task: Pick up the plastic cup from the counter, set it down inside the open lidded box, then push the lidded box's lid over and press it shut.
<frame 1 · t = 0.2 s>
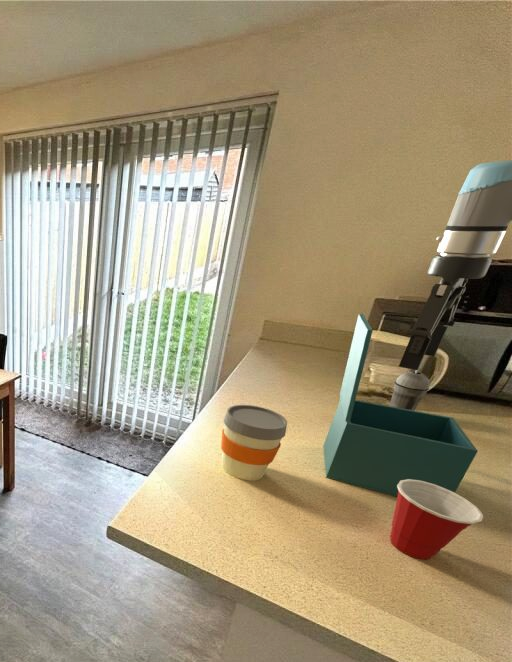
hand: (417, 361, 82), 30 cm above the countertop, tool pointing down, fingers open, 13 cm apart
lidded box: (376, 474, 95), on the countertop
reusable coffee cup: (241, 470, 97), on the countertop
lid: (354, 366, 90), point 26 cm above the countertop, hinge at 95.0°
beverage cup: (396, 420, 119), on the countertop
plastic cup: (411, 549, 74), on the countertop
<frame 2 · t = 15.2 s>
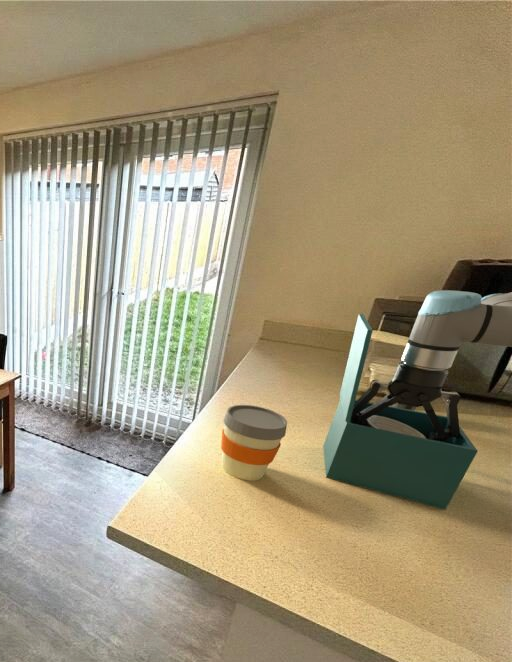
hand: (387, 452, 92), 6 cm above the countertop, tool pointing down, fingers open, 11 cm apart
plastic cup: (371, 469, 95), point 1 cm above the countertop, touching gripper
everything else where it was.
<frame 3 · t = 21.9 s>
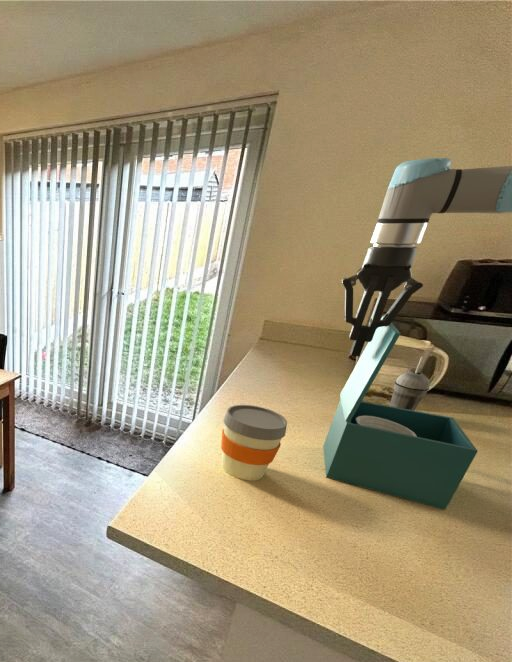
hand: (354, 354, 89), 29 cm above the countertop, tool pointing down, fingers closed
lid: (366, 368, 89), point 26 cm above the countertop, hinge at 83.4°, touching gripper, hand
plastic cup: (367, 469, 95), point 1 cm above the countertop, touching lidded box
everything else where it was.
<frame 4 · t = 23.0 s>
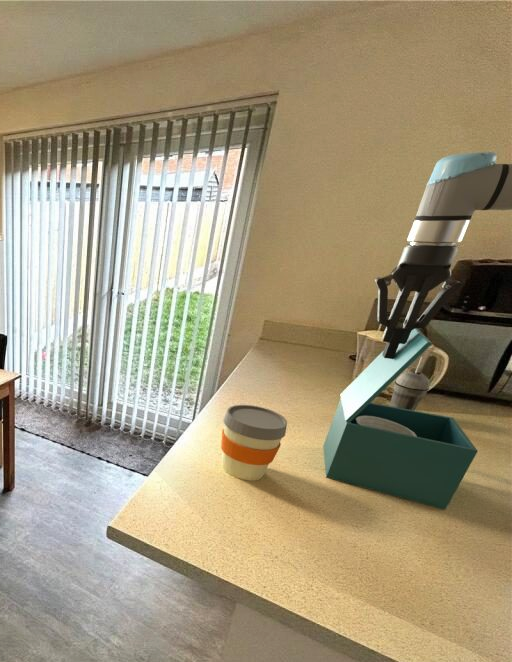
hand: (387, 356, 86), 29 cm above the countertop, tool pointing down, fingers closed
lid: (379, 372, 88), point 25 cm above the countertop, hinge at 69.6°, touching gripper
everything else where it was.
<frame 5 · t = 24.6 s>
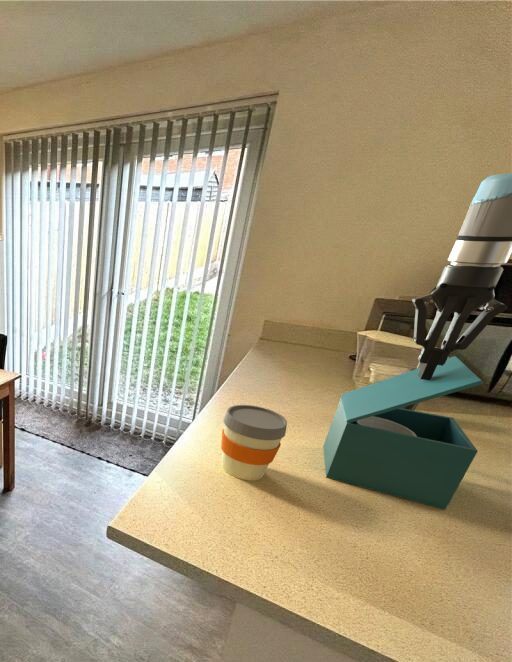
hand: (423, 377, 84), 25 cm above the countertop, tool pointing down, fingers closed
lid: (401, 389, 87), point 22 cm above the countertop, hinge at 39.7°
everything else where it was.
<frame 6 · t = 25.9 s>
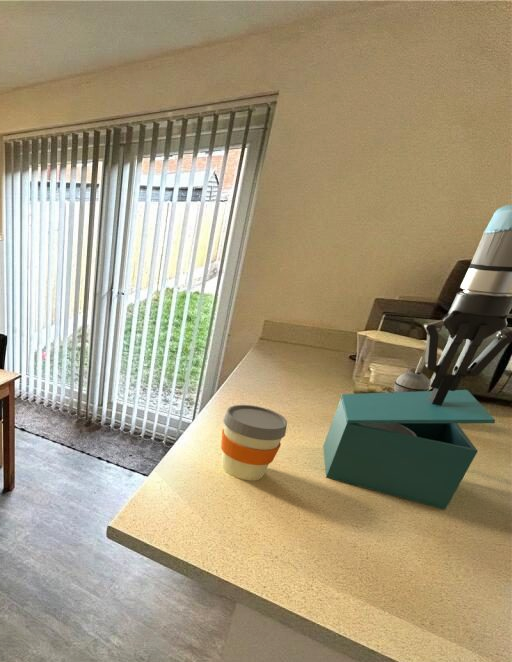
hand: (434, 402, 84), 20 cm above the countertop, tool pointing down, fingers closed
lid: (407, 406, 87), point 18 cm above the countertop, hinge at 17.1°, touching gripper
everything else where it was.
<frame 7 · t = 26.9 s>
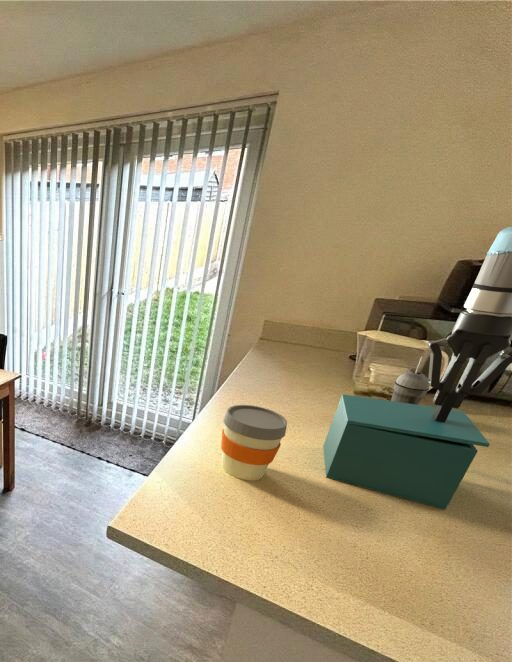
hand: (438, 419, 85), 17 cm above the countertop, tool pointing down, fingers closed
lid: (405, 417, 88), point 16 cm above the countertop, hinge at 3.1°, touching gripper
everything else where it was.
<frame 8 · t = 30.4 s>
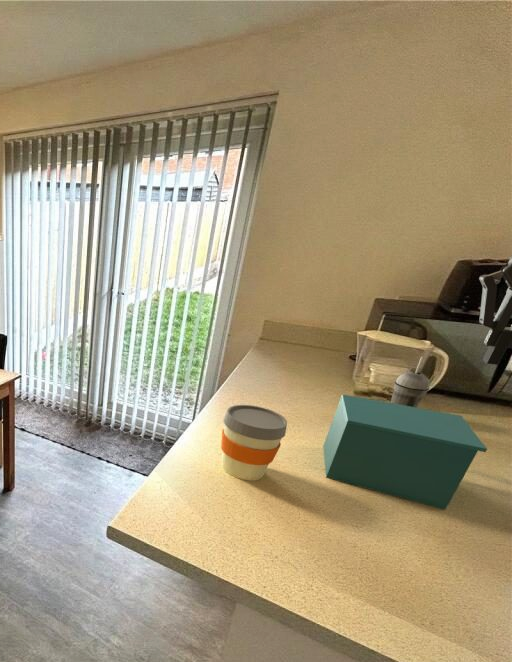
hand: (490, 362, 78), 30 cm above the countertop, tool pointing down, fingers closed
lid: (404, 419, 88), point 15 cm above the countertop, hinge at -0.1°
everything else where it was.
at the end: plastic cup inside the target area in the lidded box (1.9 cm from its centre), point 0.6 cm above the lidded box's base; plastic cup tilted 0°; lid at +0° (first picture: +95°) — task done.
